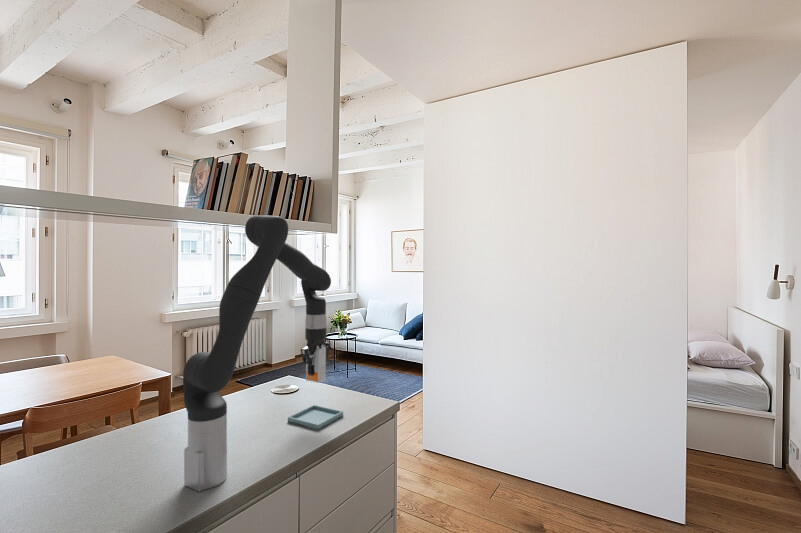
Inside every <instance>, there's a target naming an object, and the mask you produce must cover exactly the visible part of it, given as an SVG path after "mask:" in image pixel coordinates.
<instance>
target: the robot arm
mask: <svg viewBox="0 0 801 533" xmlns="http://www.w3.org/2000/svg"><path fill="white" fill-rule="evenodd" d="M244 233H245V235H246V239H248V241H249V242H250V243H251V244H253V245H255V247H257V250H256V252H255V254H254V255H253V257H251V259H249V261H248V262H246V264H244V265H243V266H242V267H241V268H240V269H239V270H238V271H236V273H235V274H233V276H232V277H231V278H230V280H229V282H228V284H227V285H226V288H225V289H224V292H223V295H222V297H221V299H220V303H219V309H218V310H219V312H218V314H219V317H218V318H219V320H218V321H219V322H218V323H219V324H218V326H219V328H218V333H217V336H216V339H215V341H214V344H213V347H212V348H211V350H210V352H207V351H201V352H197V353H194V354H193V355H192V356H190V357H189V358H188V360H187V361H186V363H185V365H184V368H183V372H182V373H183V375H182V385H183V401H184V406H185V407H184V408H185V410H186V412H187V447H185V448H184V450H183V456H184V458H183V459H184V460H183V461H184V462H183V464H184V467H183V471H184V472H183V474H184V476H183V477H184V479H183V483H184V486H186V487H188V488H189V489H192V490H195V491H197V492H202V491H204V490H207V489H213V488H215V487H216V486H219V485H221V484H222V483H224V482H225V481H226V480H227V477H228V426H227V425H228V424H227V423H228V418H227V417H228V405H227V402H226V400H225V398H224V397H223V395H221V392H220V391H222V390H223V389H225V387H227V385H228V384H229V383H230V381H231V379H232V377H233V374H234V371H235V368H236V365H237V361H238V358H239V354H240V351H241V347H242V344H243V340H244V338H245V336H246V333H247V331H248V327H249V325H250V322H251V319H252V317H253V316H254V313H255V310H256V308H257V306H258V303H259V301H260V298H261V297H262V296H261V295H262V293H263V289H264V288H265V285H266V282H267V280H268V278H269V275H270V274H271V271H272V269H273V267H274V265H275V263H276V260H278V261H279V262H280V263H281V264H282V265H284V266H285V267H287V269H288V270H289V271H291V272H292V273H293V275H295V276H296V277H297V278H298V279H300V282H301V288H302V293H303V297H304V299H305V314H306V315H305V319H304V321H305V324H304V326H305V327H304V329H305V331H304V332H305V334H304V335H305V336H304V338H305V340H306V342H307V343H306V346H305V347H303V348H302V347H301V348H300V354H301V358H302V362H303V364H304V365H306V364H307V365H308V374H309V375H314V362H315V358H316V350H317V349H319V348H323V347H324V348H326V360H327V359H329V355H330V354H329V353H330V348H331V343H330V342H326V341H325V340H327V312H326V311H327V308H326V307H327V302H326V299H325V297H321V296H318V295H317V292H318V291H319V292H325V291H327V290H328V289H329V288H330V287H331V285H332V279H331V276H330V273H329V272H328V271H326V269H323V267H320V266H318V265H317V264H315V263H313V262H312V261H311V260H310V259H309V258H308V256H306V255H305V254H304V253H303V252H302V251H301V250H299V249H297V248H295V247H294V246H292V245H290V244H288V243H287V239H288V235H289V224H288V221H287V219H285V218H284V217H282V216H277V215H269V214H268V215H266V214H265V215H263V214H261V215H260V214H259V215H253V216H251V217H249V218H248V220H247V221H246V223H245V225H244ZM309 353H310V354H312V355H313V356H310V355H309ZM310 358H312V361H310ZM306 359H307V360H306Z"/></svg>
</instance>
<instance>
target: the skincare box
mask: <svg viewBox="0 0 801 533" xmlns="http://www.w3.org/2000/svg"><path fill="white" fill-rule="evenodd" d="M309 355H310V356H313V355H312V354H310V353H309ZM306 360H307V359H306ZM310 361H312V358H310ZM326 363H327V359H326V348H324V347H323V348H319V349H317V350H316V358H315V362H314V375H309V374H308V365H307V364H305V381H309V382H313V383H316V384H319V383H322V382H324V381H326V380H327V379H326V378H327V376H326V374H327V370H326V368H327V367H326V365H327V364H326Z"/></svg>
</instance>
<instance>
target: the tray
mask: <svg viewBox="0 0 801 533" xmlns="http://www.w3.org/2000/svg"><path fill="white" fill-rule="evenodd" d="M343 417H344V411H343V410H339V409H334V408H331V407H330V408H329V407H326V406H321V405H317V404H313V405H310V406H308V407H306V408H304V409H302V410H300V411H298V412H296V413H294V414H292V415H289V416H288V417H287V423H289V424H293V425H298V426H301V427H305V428H308V429H312V430H317V431H320V430H321V429H323V428H325V427H327V426H329V425H330V424H333V423H334V422H336V421H337V420H340V419H341V418H343Z"/></svg>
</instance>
